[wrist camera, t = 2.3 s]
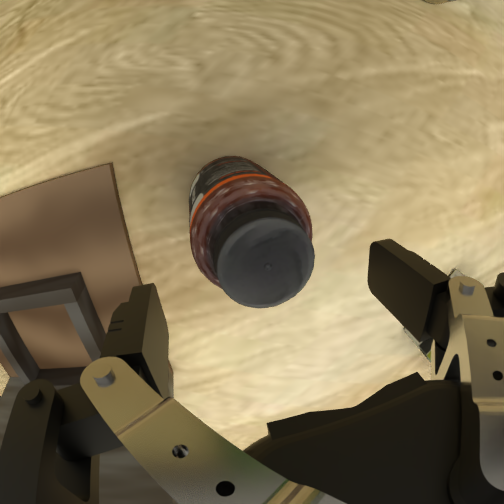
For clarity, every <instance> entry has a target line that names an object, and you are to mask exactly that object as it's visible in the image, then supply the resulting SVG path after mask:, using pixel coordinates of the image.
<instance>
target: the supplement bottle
mask: <svg viewBox="0 0 504 504" xmlns="http://www.w3.org/2000/svg"><path fill="white" fill-rule="evenodd" d="M189 212H190V220H189V222H190V243H191V250H192V253H193V257H194V259H195V262H196V264H197V266H198V268H199V269H200V271H201V272H202V273H203V274H204V275H205V276H206V278H208V279H209V280H210V281H211V282H212V283H213V284H215V285H216V286H218V287H220V288H221V289H223V290H224V292H225V293H226V294H227V295H228V296H229V297H230V298H231V299H233V300H234V301H236V302H237V303H239V304H241V305H244V306H247V307H253V308H268V307H274V306H277V305H279V304H282V303H284V302H286V301H287V300H289V299H290V298H292V297H294V296H295V295H296V294H297V293H298V292H300V291H301V290H302V288H303V287H304V286H305V285H306V283H307V281H308V280H309V278H310V276H311V273H312V270H313V267H314V258H315V255H314V248H313V245H312V223H311V219H310V215H309V212H308V210H307V208H306V206H305V204H304V203H303V201H302V200H301V198H300V197H299V196H298V195H297V194H296V193H295V192H294V191H293V190H292V189H291V188H290V187H288V186H287V185H286V184H284V183H283V182H282V181H280V180H279V179H278V178H276V177H275V176H273V175H272V174H270V173H269V172H268V171H266V170H265V169H263V168H262V167H261V166H259V165H258V164H255V163H254V162H252V161H250V160H248V159H245V158H242V157H236V156H231V157H223V158H219V159H216V160H214V161H212V162H210V163H208V164H207V165H206V166H205V167H203V168H202V169H201V171H200V172H199V173H198V174H197V176H196V177H195V179H194V181H193V184H192V186H191V190H190V196H189Z"/></svg>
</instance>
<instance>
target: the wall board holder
mask: <svg viewBox="0 0 504 504" xmlns="http://www.w3.org/2000/svg"><path fill="white" fill-rule="evenodd" d="M139 285H142V282H141V279H140V275H139V272H138V269H137V265H136V262H135V258H134V255H133V251H132V247H131V244H130V240H129V236H128V232H127V228H126V224H125V220H124V216H123V212H122V208H121V204H120V199H119V195H118V190H117V185H116V181H115V176H114V171H113V166H112V163H109V164H105V165H101V166H97V167H94V168H90V169H86V170H83V171H79V172H75V173H72V174H69V175H65V176H62V177H59V178H55V179H52V180H49V181H46V182H43V183H40V184H37V185H34V186H31V187H28V188H25V189H22V190H19V191H16V192H14V193H11V194H8V195H6V196H3V197H0V363H1V364H2V366H3V367H4V369H5V370H6V372H7V373H8V375H9V376H10V379H9V381H8V383H7V385H6V387H5V390H4V392H3V394H2V397H1V399H0V449H1V445H2V441H3V438H4V434H5V430H6V427H7V424H8V420H9V417H10V414H11V411H12V407H13V404H14V401H15V399H16V396H17V394H18V392H19V391H20V389H21V388H22V387H23V386H24V385H26V384H27V383H29V382H31V381H33V380H36V379H46V380H48V381H50V382H51V383H52V384H53V385H54V387H55V388H56V390H59V389H62V388H65V387H68V386H71V385H74V384H77V383H80V378H81V374H82V372H83V371H84V369H85V368H86V367H87V366H88V365H89V364H91V363H92V362H94V361H96V360H98V359H100V355H101V352H102V348H103V344H104V341H105V337H106V334H107V332H108V327H109V324H110V320H111V317H112V314H113V312H114V311H115V309H116V308H117V307H118V306H119V305H120V304H121V303H124V302H129V298H130V294H131V291H132V287H134V286H139ZM168 397H172V398H173V399H174V397H173V370H172V368H171V365H170V362H169V360H168ZM99 504H178V503H177V502H176V501H175V500H174V499H173V498H172V497H171V496H170V495H169V494H168V493H167V492H166V491H165V490H164V489H163V488H162V487H161V486H160V485H159V484H158V483H157V482H156V481H155V480H154V479H153V478H152V477H151V476H150V475H149V473H148V472H147V471H146V470H145V469H144V468H143V467H142V466H141V465H140V464H139V462H138V461H137V460H136V459H135V458H134V457H133V455H132V454H131V453H130V452H129V451H128V450H127V448H126V447H125V446H122V447H119V448H116V449H113V450H110V451H107V452H104V453H101V454H100V465H99Z"/></svg>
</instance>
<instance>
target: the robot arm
mask: <svg viewBox="0 0 504 504" xmlns="http://www.w3.org/2000/svg"><path fill="white" fill-rule="evenodd" d="M424 1H426V2H429V3H433V4H442V3H445V2H451V1H456V0H424ZM368 286H369V289H370V291H371V293H372V294H373V295H374V296H375V297H376V298H377V299H378V300H379V301H380V302H381V303H382V304H383V305H384V306H385V307H386V308H387V309H388V310H389V311H390V312H391V313H392V314H393V315H394V316H395V317H396V319H397V320H398V321H399V322H400V323H401V324H402V325H403V326H404V327H405V328H406V329H407V330H408V331H409V332H410V333H411V334H412V335H413V336H414V337H415V339H416V340H417V341H418V342H419V343H420V342H423V341H425V340H427V339H429V338H433V343H432V346H431V380H428V381H424V379H423V378H422V377H421V376H420V375H419V373H418V372H416V373H414V374H411V375H409V376H407V377H405V378H402V379H400V380H398V381H395V382H393V383H391V384H388V385H386V386H385V387H383V388H382V389H380V390H379V391H378V392H376V393H375V394H373V395H372V396H370V397H369V398H368V399H366V400H365V401H363V402H362V403H360V404H359V405H357V406H355V407H351V408H344V409H336V410H326V411H316V412H308V413H304V414H301V415H297V416H293V417H289V418H286V419H282V420H278V421H274V422H269V423H267V428H268V435H267V436H265V437H263V438H261V439H259V440H258V441H256V442H254V443H253V444H251V445H250V446H249V447H247V448H246V449H245V450H243V451H242V450H240V449H239V448H237V447H236V446H235V445H233V444H232V443H230V442H229V441H227V440H226V439H225V438H223V437H222V436H221V435H219V434H218V433H217V432H215V431H214V430H213V429H211V428H210V427H209V426H207V425H206V424H205V423H203V422H202V421H201V420H200V419H198V418H197V417H196V416H195V415H193V414H192V413H191V412H190V411H188V410H187V409H186V408H185V407H183V406H182V405H181V404H180V403H179V402H177V401H176V400H175V399H173V398H172V397H168V345H169V334H168V327H167V322H166V319H165V316H164V312H163V309H162V306H161V303H160V299H159V296H158V293H157V289H156V286H155V284H154V283H151V284H145V285H139V286H134V287H132V291H131V294H130V298H129V302H124V303H121V304H120V305H119V306H118V307H117V308H116V309H115V311H114V312H113V314H112V317H111V320H110V324H109V327H108V332H107V334H106V337H105V341H104V344H103V348H102V352H101V355H100V359H98V360H96V361H94V362H92V363H91V364H89V365H88V366H87V367H86V368H85V369H84V371H83V372H82V374H81V378H80V383H77V384H74V385H71V386H68V387H65V388H62V389H59V390H56V388H55V387H54V385H53V384H52V383H51V382H50V381H48V380H46V379H36V380H33V381H31V382H29V383H27V384H26V385H24V386H23V387H22V388H21V389H20V391H19V392H18V394H17V396H16V399H15V401H14V404H13V407H12V411H11V414H10V417H9V420H8V424H7V427H6V430H5V434H4V438H3V441H2V445H1V449H0V504H99V465H100V454H101V453H104V452H107V451H110V450H113V449H116V448H119V447H122V446H125V447H126V448H127V450H128V451H129V452H130V453H131V454H132V455H133V457H134V458H135V459H136V460H137V461H138V462H139V464H140V465H141V466H142V467H143V468H144V469H145V470H146V471H147V472H148V473H149V475H150V476H151V477H152V478H153V479H154V480H155V481H156V482H157V483H158V484H159V485H160V486H161V487H162V488H163V489H164V490H165V491H166V492H167V493H168V494H169V495H170V496H171V497H172V498H173V499H174V500H175V501H176V502H177V503H178V504H504V273H500V274H499V275H498V276H497V279H496V283H495V286H494V287H486V288H484V286H483V285H482V284H481V283H480V282H479V281H477V280H475V279H473V278H470V277H466V276H456V277H453V278H450V277H449V276H447V275H446V274H445V273H443V272H442V271H440V270H439V269H438V268H436V267H435V266H433V265H432V264H431V265H430V263H429V262H428V261H426V260H423V258H422V257H420V256H419V255H417V254H416V253H414V252H412V251H409V250H407V249H405V248H404V247H402V246H401V245H399V244H398V243H396V242H395V241H393V240H392V239H385V240H380V241H375V242H373V243H372V244H371V246H370V253H369V267H368Z"/></svg>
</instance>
